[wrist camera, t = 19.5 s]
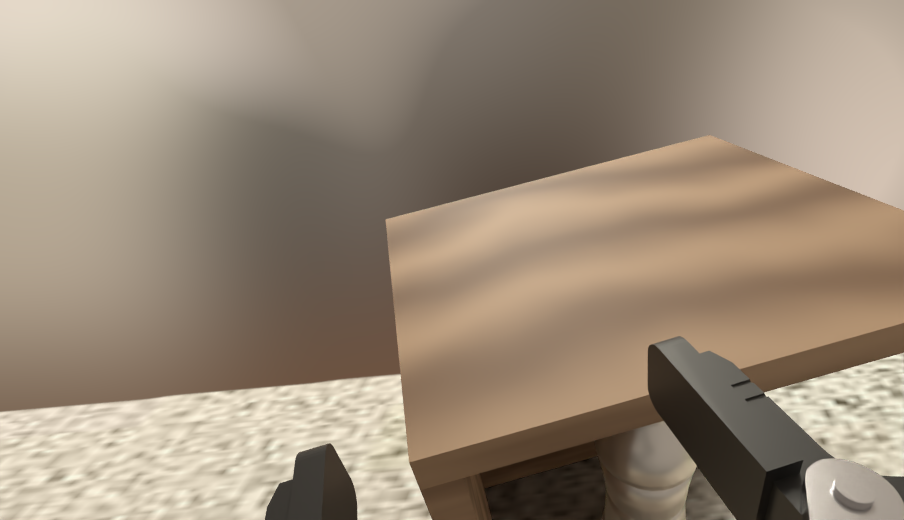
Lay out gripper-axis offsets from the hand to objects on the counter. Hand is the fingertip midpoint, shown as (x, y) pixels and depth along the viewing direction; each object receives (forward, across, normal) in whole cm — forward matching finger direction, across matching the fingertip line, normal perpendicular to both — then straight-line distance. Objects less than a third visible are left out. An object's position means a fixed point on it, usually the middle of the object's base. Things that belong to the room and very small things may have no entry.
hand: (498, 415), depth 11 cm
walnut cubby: (+11, +8, -33) cm, 35 cm away
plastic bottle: (+10, +10, -33) cm, 36 cm away
